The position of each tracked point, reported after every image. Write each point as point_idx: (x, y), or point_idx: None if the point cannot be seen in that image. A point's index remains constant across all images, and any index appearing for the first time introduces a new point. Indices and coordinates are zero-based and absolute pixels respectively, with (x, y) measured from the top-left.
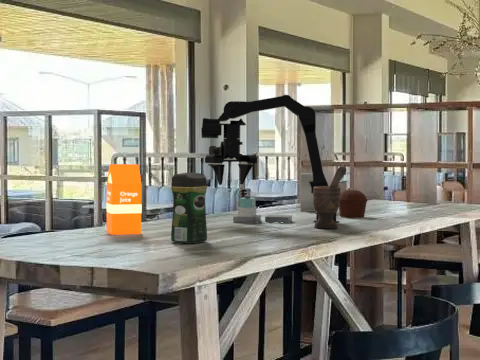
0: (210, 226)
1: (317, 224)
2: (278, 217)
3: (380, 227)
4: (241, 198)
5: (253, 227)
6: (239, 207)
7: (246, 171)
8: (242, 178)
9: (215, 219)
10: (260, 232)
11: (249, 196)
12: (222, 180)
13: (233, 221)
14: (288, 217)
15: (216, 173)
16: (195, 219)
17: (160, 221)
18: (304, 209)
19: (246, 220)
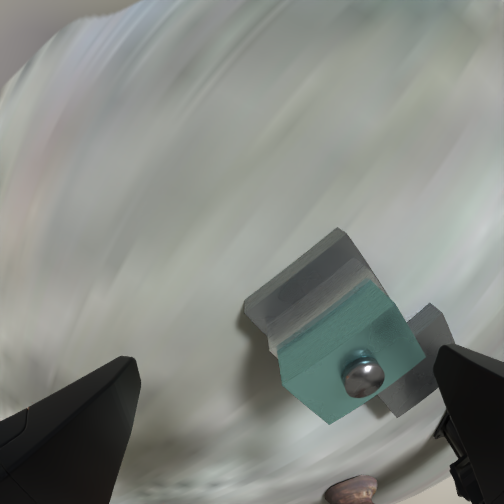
0: (86, 358)
1: (329, 497)
2: (383, 401)
3: (429, 482)
4: (309, 377)
5: (202, 441)
6: (277, 351)
7: (482, 493)
8: (462, 410)
9: (266, 122)
10: (158, 485)
11: (361, 395)
12: (128, 431)
13: (246, 302)
14: (397, 417)
15: (23, 439)
16: None
17: (17, 110)
18: None
19: None
